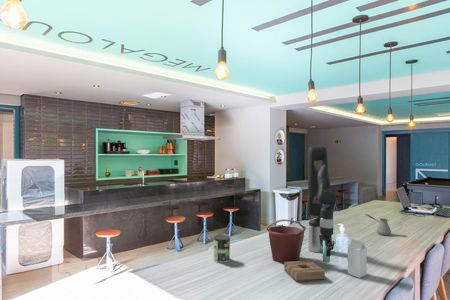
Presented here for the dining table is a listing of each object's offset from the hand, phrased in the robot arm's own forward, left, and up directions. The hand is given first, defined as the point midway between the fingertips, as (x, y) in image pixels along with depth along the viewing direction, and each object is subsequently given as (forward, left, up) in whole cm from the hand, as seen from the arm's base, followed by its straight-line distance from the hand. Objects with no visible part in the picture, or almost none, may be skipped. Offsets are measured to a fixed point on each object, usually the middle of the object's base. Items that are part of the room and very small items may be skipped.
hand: (326, 254), depth 181 cm
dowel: (0, 0, -4) cm, 4 cm away
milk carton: (+12, +12, -8) cm, 19 cm away
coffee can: (-24, -58, -8) cm, 63 cm away
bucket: (-18, -18, -8) cm, 27 cm away
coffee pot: (-67, +86, -8) cm, 109 cm away
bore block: (+8, -18, -8) cm, 21 cm away
